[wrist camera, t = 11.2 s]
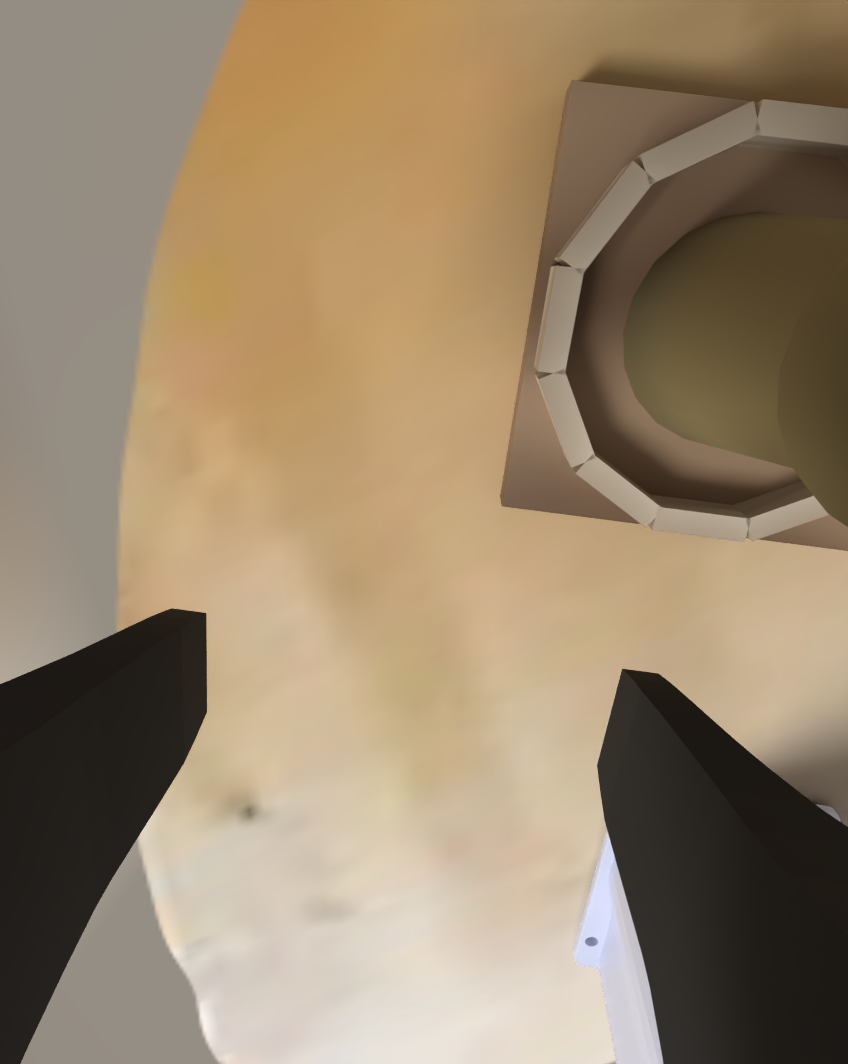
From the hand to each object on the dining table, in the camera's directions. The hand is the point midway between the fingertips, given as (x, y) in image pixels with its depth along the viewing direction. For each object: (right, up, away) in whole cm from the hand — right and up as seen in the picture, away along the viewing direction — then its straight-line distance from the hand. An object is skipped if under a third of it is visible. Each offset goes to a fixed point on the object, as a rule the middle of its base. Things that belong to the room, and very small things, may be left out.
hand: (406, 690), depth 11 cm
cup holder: (+9, +8, +7) cm, 14 cm away
